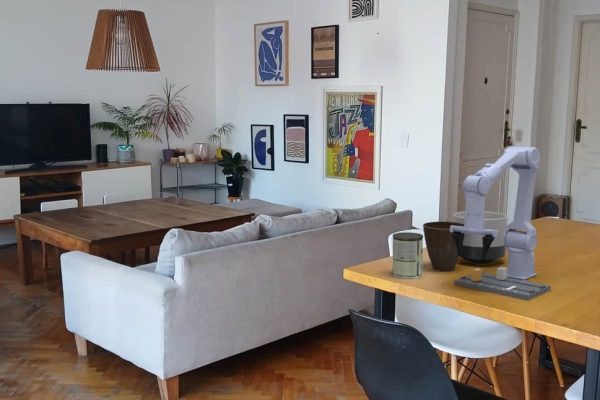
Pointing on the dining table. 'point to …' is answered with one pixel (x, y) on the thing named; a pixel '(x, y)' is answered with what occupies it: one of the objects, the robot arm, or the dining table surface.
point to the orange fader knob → (476, 274)
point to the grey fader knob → (501, 273)
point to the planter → (475, 242)
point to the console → (505, 286)
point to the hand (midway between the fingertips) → (471, 257)
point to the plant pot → (441, 245)
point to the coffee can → (407, 255)
